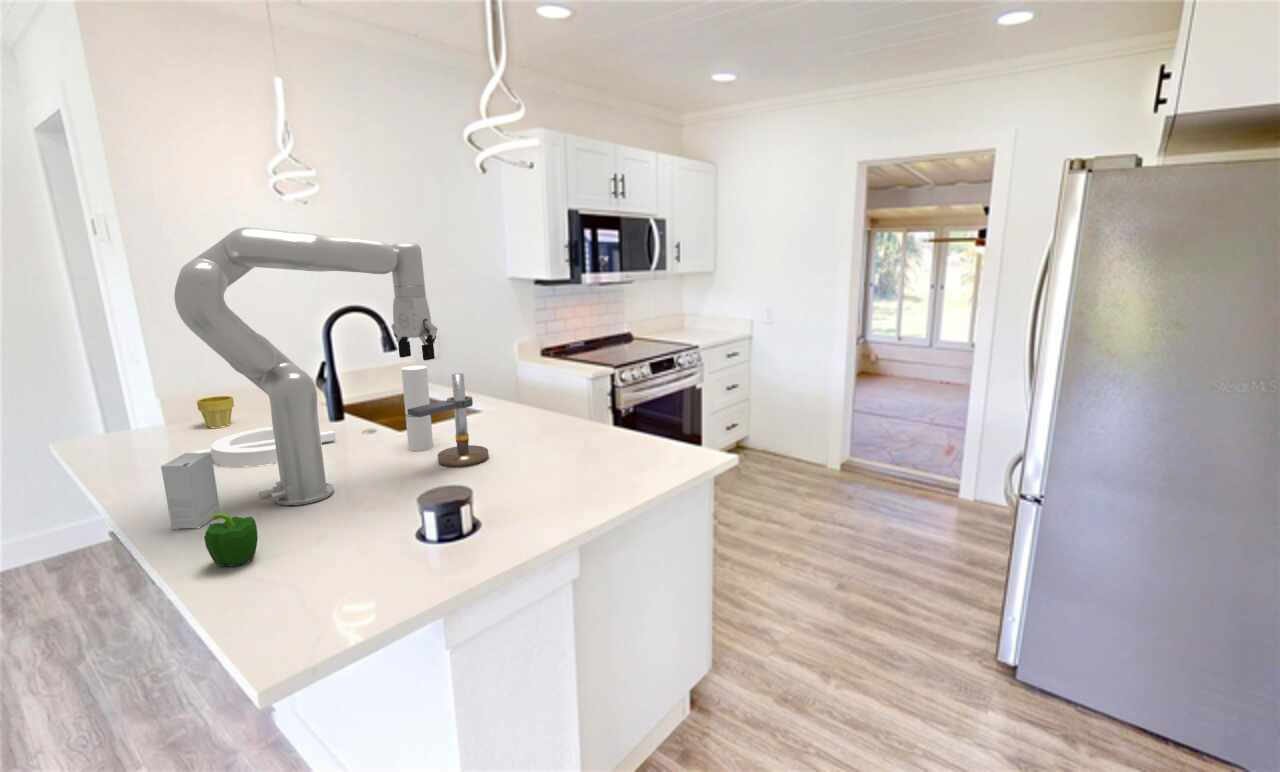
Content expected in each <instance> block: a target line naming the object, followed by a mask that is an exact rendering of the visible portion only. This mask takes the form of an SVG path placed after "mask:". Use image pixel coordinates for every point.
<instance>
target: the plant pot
mask: <svg viewBox="0 0 1280 772" xmlns="http://www.w3.org/2000/svg"><path fill="white" fill-rule="evenodd" d="M234 401H235V400H234V397H233V396H229V395H217V396H210V397H203V398H200V399H198V400H197V401H196V405H197V410H198V411H199V412H201V415H202V418H203V420H204V422H205V425H206V428H208V427H221V426H225V425H228V424H230V425H231V422H232V421H231V419H232V412H233V411H232V410H233V408H234V406H235V404H234V403H235V402H234ZM221 428H222V427H221Z"/></svg>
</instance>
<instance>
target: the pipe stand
mask: <svg viewBox="0 0 1280 772" xmlns="http://www.w3.org/2000/svg"><path fill="white" fill-rule="evenodd" d="M451 381H452V393H453V394H452V397H453V398H454V401H459V400H465V396H466V388H465V373H462V372H461V373H460V372H459V373H452V374H451ZM453 410H454V423H455V424H454V425H455V435H454V436H455V442H456V446H452V447H448V448H445V449H443V450H441V451H440V452H438V454H437V462H438V464H439V465H440V466H442V467H446V468H467V467H473V466H477V465H480V463H481V464H483V463H485V462H487V461H488V460H489V459H490V457H489V449H488V448H487V447H485V446H482V445H474V444H473V445H470V444H469V441H470V438H469V432H468V417H467V408H458V409H453ZM487 459H488V460H487Z"/></svg>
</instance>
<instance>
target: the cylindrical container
mask: <svg viewBox="0 0 1280 772" xmlns="http://www.w3.org/2000/svg"><path fill="white" fill-rule="evenodd" d="M427 367H428V366H426V365H410V366H404V367H401V378H402V380H401V381H402V389H403V401H404V402H403V404H404V412H405V424H406V435H407V436H406V437H407V445H408V447H407V448H408V450H409V451H411V452H423V451H428V450H431V449H432V448H433V447H434V443H433V441H434V439H433V428H432V427H433V426H432V417H431V415H432V414H431V415H427V416H423V417H416V416H412V415H408V409H411V408H415V407H419V406H424V405H428V404H431V403H430V389H429V388H430V387H429V380H428V378H429V376H428V368H427Z"/></svg>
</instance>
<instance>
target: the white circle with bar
mask: <svg viewBox="0 0 1280 772" xmlns="http://www.w3.org/2000/svg"><path fill="white" fill-rule="evenodd" d="M320 437H321V445H322V446H323V443H325V442H332V441H333V442H334V441H336V433H335V431H334V430H329V431H320ZM194 453H211V455H212V461H213V463H214V462H215V463H216V465H217V464H219V465H218V466H220V465H223V466H222V467H225V466H229V467H228V468H245V467H244V466H256V467H258V466H257V465H265V464H271V463H277V462H278V460H277V453H276V446H275V438H274V432H273V426H266V427H259V428H253V429H249V430H244V431H240V432H237V433H233V434H229V435H226V436H224V437H221V438H219V439H216V440H215V441H214V442H212V444H211V446H210V448H207V449H199V450H195V451H194ZM215 463H214V464H215ZM265 466H266V465H265Z"/></svg>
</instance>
